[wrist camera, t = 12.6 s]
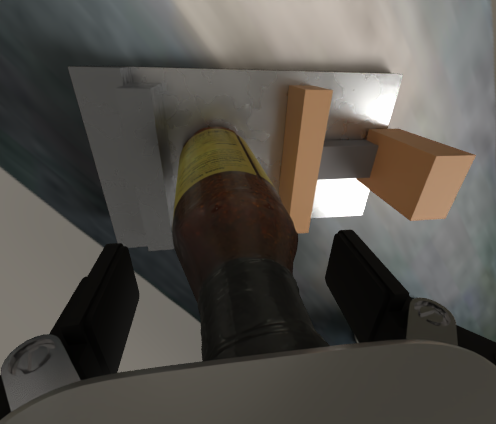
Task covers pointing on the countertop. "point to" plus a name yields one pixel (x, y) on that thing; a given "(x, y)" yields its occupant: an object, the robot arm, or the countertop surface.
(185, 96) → the vise base
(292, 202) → the sliding jaw
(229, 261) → the sauce bottle
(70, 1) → the countertop surface
